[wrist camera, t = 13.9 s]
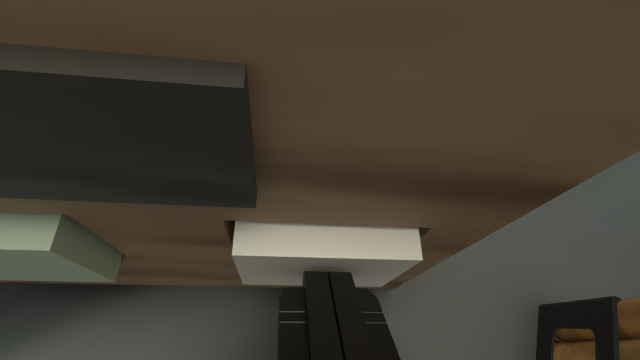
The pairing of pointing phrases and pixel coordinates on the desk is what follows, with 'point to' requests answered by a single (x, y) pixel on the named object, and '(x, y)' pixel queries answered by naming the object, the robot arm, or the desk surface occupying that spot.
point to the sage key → (53, 250)
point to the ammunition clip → (589, 330)
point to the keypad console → (306, 118)
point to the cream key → (323, 252)
